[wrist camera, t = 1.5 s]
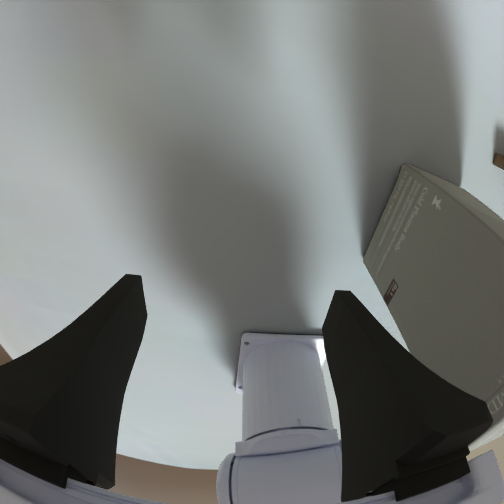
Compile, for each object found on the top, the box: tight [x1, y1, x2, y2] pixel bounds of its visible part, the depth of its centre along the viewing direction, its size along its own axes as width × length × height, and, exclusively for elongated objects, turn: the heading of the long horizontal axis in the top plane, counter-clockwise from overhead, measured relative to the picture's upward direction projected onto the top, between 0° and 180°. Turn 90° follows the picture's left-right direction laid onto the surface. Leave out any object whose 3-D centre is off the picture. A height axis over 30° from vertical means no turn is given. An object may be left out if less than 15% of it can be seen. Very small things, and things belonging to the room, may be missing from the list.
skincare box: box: [363, 164, 504, 451], centre depth 13 cm, size 8×7×16 cm
